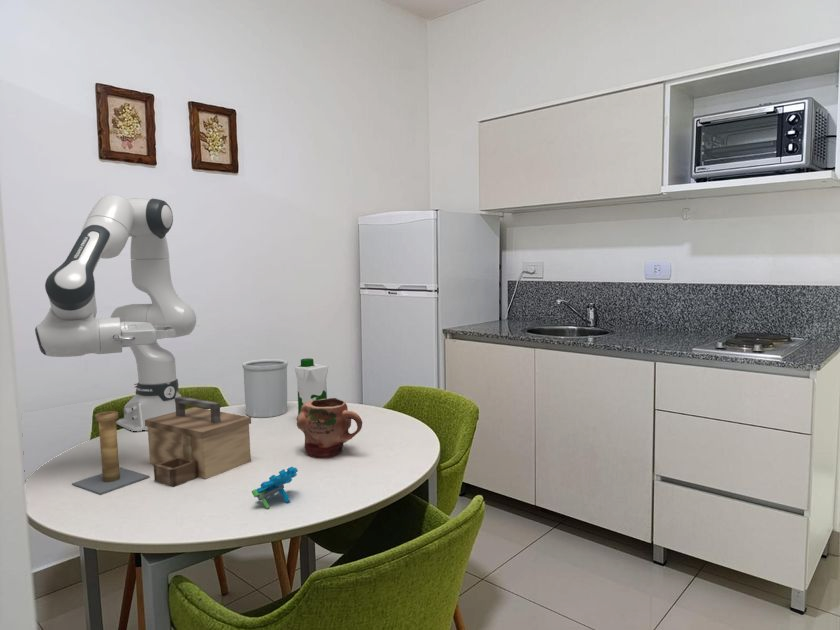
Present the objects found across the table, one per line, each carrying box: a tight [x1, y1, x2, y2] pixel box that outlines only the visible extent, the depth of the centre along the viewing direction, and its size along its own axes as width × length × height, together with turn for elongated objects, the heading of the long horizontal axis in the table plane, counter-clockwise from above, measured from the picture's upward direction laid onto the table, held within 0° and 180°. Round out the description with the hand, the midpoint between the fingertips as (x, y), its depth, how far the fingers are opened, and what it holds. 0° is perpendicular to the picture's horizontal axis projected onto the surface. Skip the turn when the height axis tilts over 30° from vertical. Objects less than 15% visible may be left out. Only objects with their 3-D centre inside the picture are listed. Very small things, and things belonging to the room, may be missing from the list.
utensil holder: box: [242, 358, 288, 419], centre depth 199 cm, size 15×15×18 cm
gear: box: [251, 466, 299, 510], centre depth 126 cm, size 11×6×10 cm
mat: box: [71, 467, 150, 496], centre depth 140 cm, size 12×12×1 cm
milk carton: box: [294, 357, 329, 416], centre depth 187 cm, size 9×9×20 cm
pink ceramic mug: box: [296, 397, 363, 459], centre depth 156 cm, size 20×12×14 cm, turn 72°
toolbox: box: [145, 395, 252, 488], centre depth 148 cm, size 23×21×16 cm
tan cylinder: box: [94, 410, 120, 482], centre depth 139 cm, size 5×5×16 cm
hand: (173, 331), depth 152 cm, fingers open, 8 cm apart
